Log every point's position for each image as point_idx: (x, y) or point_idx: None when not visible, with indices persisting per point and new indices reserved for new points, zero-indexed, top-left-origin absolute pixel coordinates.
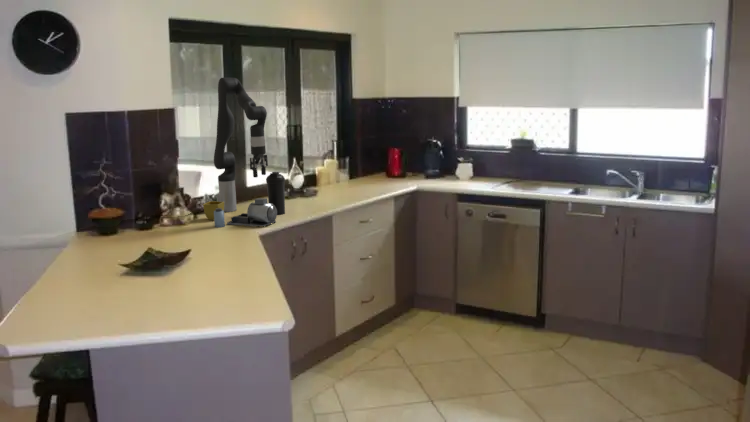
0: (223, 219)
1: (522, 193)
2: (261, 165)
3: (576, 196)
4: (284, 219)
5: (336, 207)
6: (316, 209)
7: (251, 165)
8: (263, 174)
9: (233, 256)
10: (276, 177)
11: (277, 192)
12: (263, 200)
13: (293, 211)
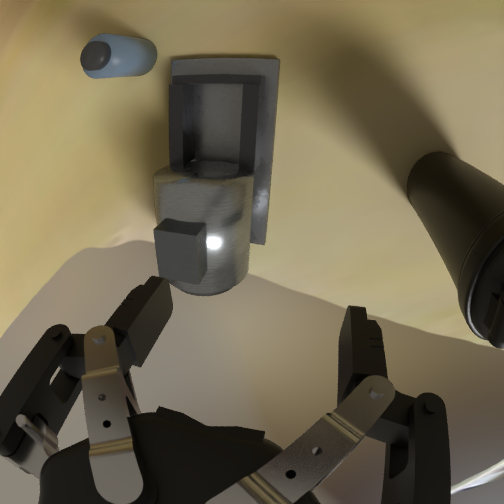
0: (121, 76)
1: (485, 472)
2: (345, 412)
3: None
4: (325, 254)
5: None
6: None
7: (45, 369)
8: (343, 324)
9: (4, 267)
10: (480, 325)
11: (443, 259)
12: (164, 275)
13: None
